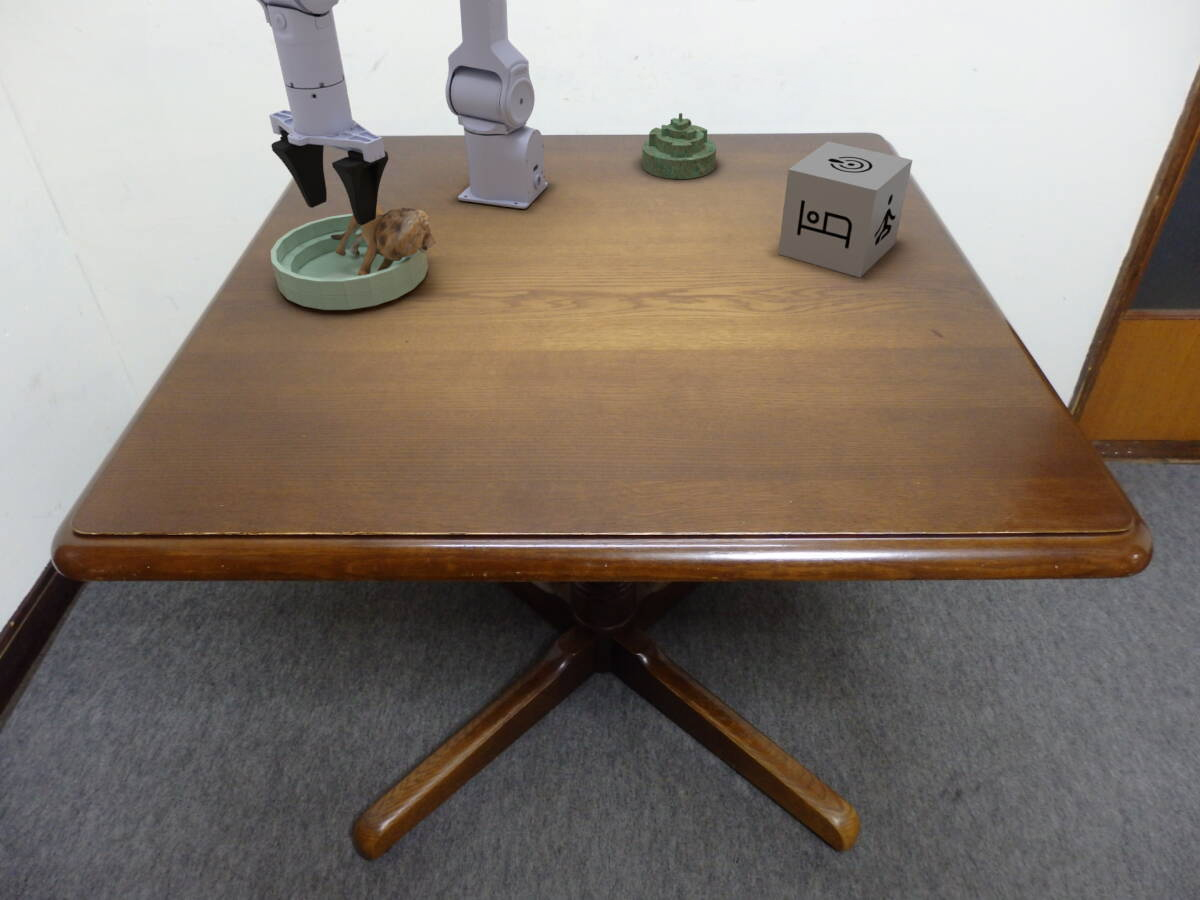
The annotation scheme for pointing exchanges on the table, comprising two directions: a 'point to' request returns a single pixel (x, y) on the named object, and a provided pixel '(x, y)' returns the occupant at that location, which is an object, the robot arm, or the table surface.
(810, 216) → the icon cube
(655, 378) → the table surface
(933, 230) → the table surface
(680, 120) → the decorative artifact
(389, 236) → the lion figurine
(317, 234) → the bowl
